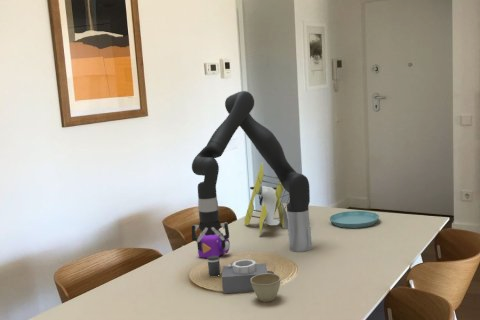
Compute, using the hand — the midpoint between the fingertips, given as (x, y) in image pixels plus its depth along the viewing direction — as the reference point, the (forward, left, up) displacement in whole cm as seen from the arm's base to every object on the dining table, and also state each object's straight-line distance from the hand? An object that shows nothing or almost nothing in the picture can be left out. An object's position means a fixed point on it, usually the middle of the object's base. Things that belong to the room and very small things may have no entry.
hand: (211, 249), depth 198 cm
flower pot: (-19, +27, -10) cm, 35 cm away
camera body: (-12, +14, -10) cm, 21 cm away
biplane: (-26, -58, -10) cm, 64 cm away
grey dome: (-20, +4, -10) cm, 23 cm away
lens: (0, 0, -10) cm, 10 cm away
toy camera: (+1, -24, -10) cm, 26 cm away
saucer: (-67, -59, -11) cm, 90 cm away
